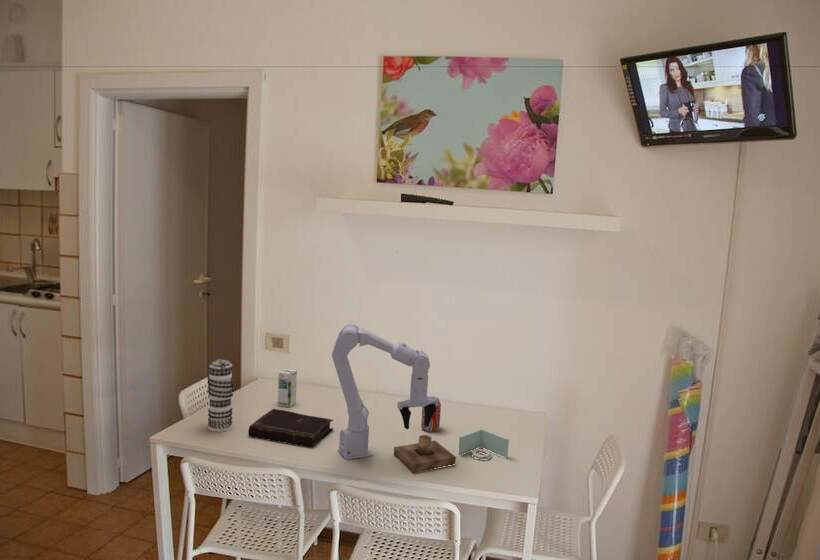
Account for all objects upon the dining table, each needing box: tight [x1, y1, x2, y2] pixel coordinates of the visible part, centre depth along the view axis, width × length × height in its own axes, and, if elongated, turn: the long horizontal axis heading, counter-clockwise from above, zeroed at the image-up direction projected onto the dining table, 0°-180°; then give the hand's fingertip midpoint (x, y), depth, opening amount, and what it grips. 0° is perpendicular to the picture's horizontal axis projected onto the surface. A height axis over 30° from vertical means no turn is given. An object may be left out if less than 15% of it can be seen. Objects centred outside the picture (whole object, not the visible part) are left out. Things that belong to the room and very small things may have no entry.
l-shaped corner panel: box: [458, 428, 510, 460], centre depth 203 cm, size 12×12×8 cm
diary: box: [248, 408, 334, 449], centre depth 215 cm, size 19×25×5 cm
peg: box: [418, 434, 432, 457], centre depth 198 cm, size 4×4×8 cm
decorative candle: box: [206, 358, 234, 433], centre depth 215 cm, size 9×9×25 cm
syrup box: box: [277, 368, 298, 408], centre depth 242 cm, size 6×6×14 cm
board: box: [393, 440, 457, 474], centre depth 198 cm, size 16×14×3 cm
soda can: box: [420, 396, 442, 432], centre depth 224 cm, size 7×7×12 cm
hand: (416, 426), depth 200 cm, fingers open, 7 cm apart
